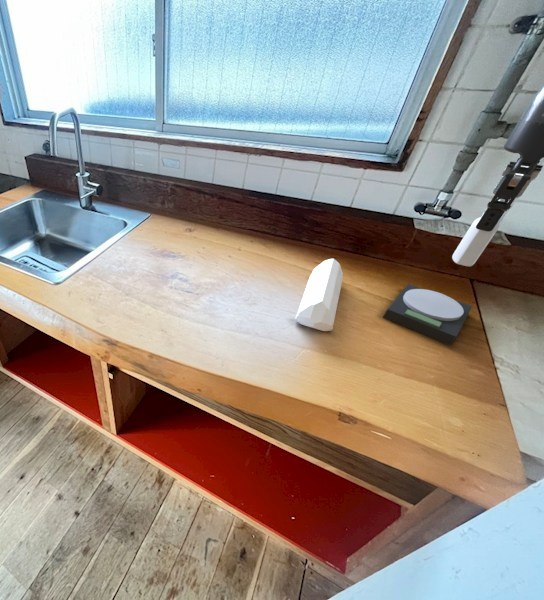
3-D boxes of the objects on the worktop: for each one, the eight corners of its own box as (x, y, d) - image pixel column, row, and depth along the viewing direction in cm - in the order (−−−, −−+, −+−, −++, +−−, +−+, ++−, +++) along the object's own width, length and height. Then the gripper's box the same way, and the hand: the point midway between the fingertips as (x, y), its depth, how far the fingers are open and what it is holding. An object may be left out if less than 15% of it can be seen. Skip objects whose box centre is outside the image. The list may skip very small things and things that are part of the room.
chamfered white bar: (346, 328, 63) (355, 270, 79) (317, 304, 64) (332, 252, 80) (316, 344, 69) (330, 287, 85) (290, 322, 69) (309, 270, 85)
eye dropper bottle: (484, 262, 62) (527, 200, 54) (466, 268, 60) (508, 206, 53) (459, 252, 65) (496, 193, 58) (441, 258, 63) (477, 198, 56)
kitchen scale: (466, 314, 71) (474, 303, 69) (449, 345, 64) (458, 333, 62) (403, 291, 79) (409, 280, 77) (382, 317, 71) (389, 306, 69)
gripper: (593, 128, 42) (508, 244, 52) (596, 114, 49) (520, 218, 59) (514, 122, 46) (450, 230, 56) (527, 110, 54) (468, 208, 64)
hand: (486, 224), depth 58 cm, fingers closed on eye dropper bottle, 5 cm apart
